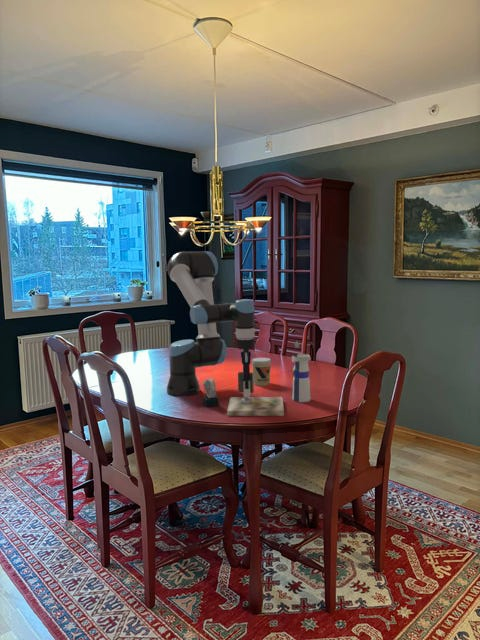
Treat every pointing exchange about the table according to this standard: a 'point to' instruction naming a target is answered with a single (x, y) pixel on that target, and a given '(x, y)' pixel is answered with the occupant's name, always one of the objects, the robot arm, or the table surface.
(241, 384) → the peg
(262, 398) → the dial board
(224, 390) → the table surface
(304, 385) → the water bottle
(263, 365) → the coffee cup
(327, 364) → the table surface
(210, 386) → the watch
